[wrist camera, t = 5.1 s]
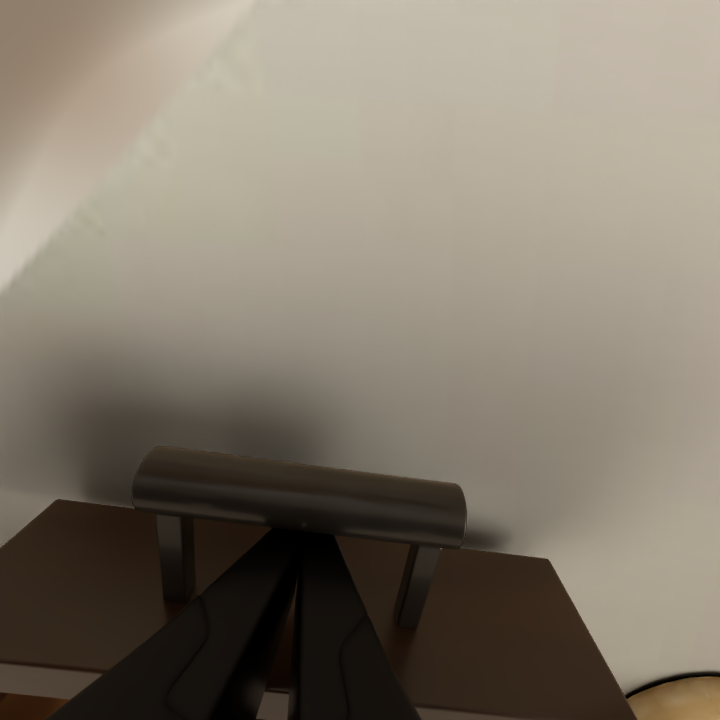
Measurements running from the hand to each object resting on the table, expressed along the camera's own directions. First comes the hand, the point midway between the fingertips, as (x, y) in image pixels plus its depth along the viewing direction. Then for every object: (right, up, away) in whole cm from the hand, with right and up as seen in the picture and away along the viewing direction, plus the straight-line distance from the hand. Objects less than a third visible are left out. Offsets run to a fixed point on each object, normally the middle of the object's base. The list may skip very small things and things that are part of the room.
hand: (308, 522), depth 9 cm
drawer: (-1, -7, +4) cm, 8 cm away
